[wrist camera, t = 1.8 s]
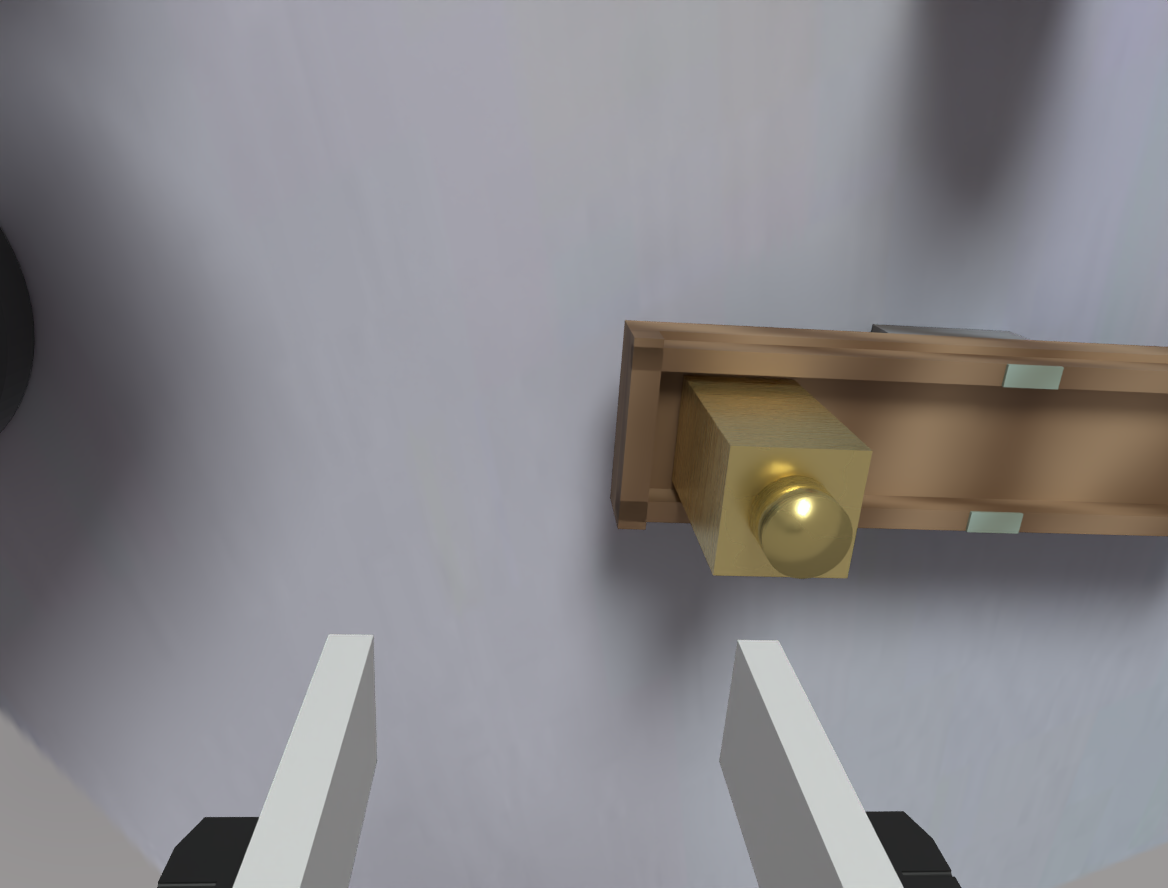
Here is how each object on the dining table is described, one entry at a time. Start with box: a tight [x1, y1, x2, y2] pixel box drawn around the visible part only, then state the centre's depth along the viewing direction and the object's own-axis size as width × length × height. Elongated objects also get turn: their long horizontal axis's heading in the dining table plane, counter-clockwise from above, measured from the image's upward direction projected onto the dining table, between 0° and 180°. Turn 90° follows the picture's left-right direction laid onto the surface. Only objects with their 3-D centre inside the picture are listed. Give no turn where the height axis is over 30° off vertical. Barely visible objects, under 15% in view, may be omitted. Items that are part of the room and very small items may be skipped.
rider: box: [672, 375, 873, 579], centre depth 26 cm, size 4×4×8 cm
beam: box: [610, 320, 1168, 536], centre depth 33 cm, size 28×7×7 cm, turn 86°
